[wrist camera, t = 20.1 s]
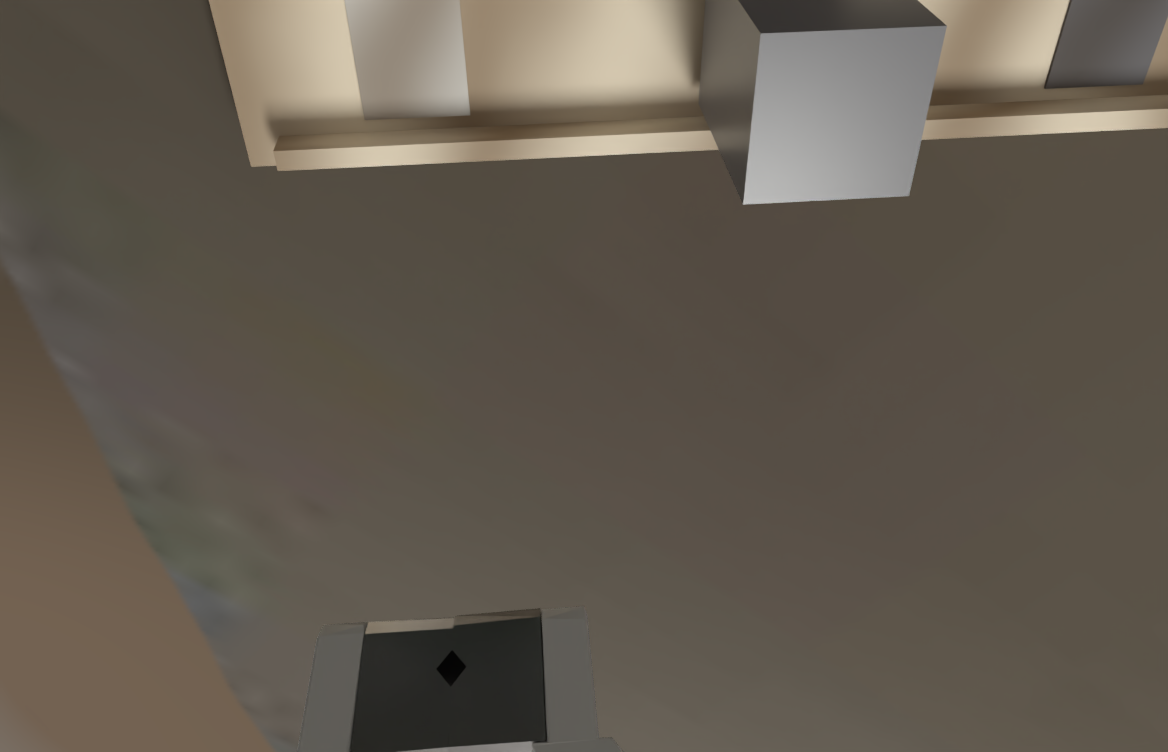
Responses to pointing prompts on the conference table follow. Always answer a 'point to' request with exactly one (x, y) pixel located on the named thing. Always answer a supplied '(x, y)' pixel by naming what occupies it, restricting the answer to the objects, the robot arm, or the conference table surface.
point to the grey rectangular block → (818, 94)
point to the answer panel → (632, 76)
